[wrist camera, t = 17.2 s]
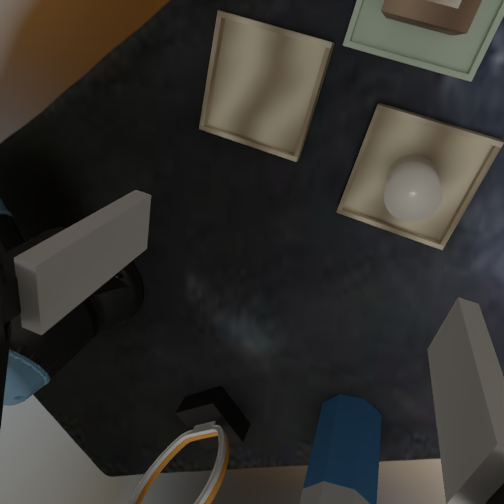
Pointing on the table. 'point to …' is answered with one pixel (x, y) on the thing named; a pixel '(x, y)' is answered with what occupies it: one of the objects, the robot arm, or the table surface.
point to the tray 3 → (428, 145)
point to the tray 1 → (263, 84)
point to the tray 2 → (424, 39)
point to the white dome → (412, 188)
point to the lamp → (202, 438)
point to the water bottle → (344, 454)
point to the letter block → (434, 14)
